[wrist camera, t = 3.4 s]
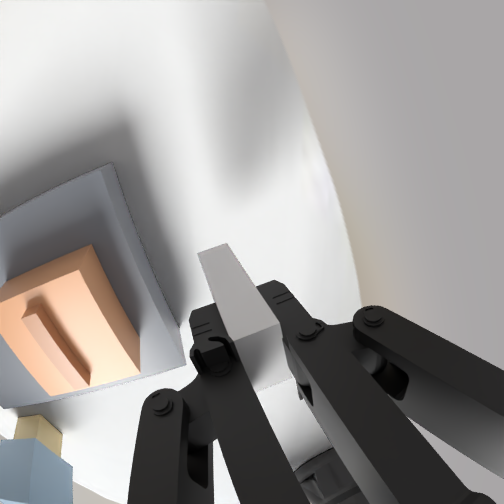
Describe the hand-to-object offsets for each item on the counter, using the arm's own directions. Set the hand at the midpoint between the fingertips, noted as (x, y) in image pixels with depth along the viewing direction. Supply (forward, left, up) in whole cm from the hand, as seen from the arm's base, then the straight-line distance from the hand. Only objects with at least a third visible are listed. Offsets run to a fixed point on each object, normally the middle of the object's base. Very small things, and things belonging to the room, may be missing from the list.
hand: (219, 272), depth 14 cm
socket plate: (0, +13, -5) cm, 14 cm away
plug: (-14, +25, -6) cm, 29 cm away
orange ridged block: (0, +9, -1) cm, 9 cm away
